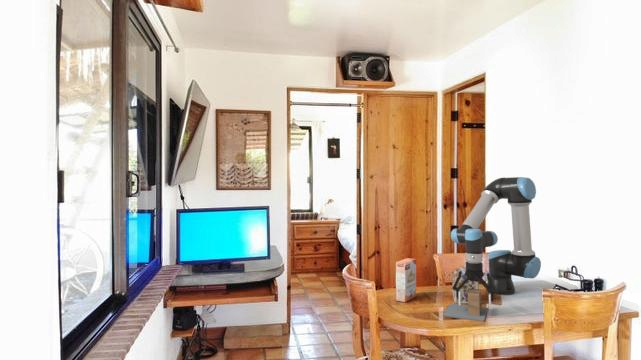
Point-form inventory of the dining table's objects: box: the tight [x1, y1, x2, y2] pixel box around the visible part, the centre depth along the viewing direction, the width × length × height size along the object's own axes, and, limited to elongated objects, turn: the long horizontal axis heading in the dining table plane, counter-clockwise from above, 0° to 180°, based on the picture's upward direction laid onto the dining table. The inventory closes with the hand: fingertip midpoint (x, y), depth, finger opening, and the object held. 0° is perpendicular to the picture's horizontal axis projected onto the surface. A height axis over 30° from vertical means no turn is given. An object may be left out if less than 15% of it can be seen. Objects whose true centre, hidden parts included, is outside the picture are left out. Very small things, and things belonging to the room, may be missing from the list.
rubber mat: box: [442, 303, 489, 323], centre depth 193 cm, size 20×18×1 cm
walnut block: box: [467, 289, 483, 316], centre depth 191 cm, size 9×5×10 cm, turn 152°
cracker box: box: [395, 257, 417, 303], centre depth 217 cm, size 14×6×21 cm, turn 143°
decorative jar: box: [452, 265, 480, 305], centre depth 212 cm, size 12×12×18 cm
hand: (474, 306), depth 191 cm, fingers open, 13 cm apart
